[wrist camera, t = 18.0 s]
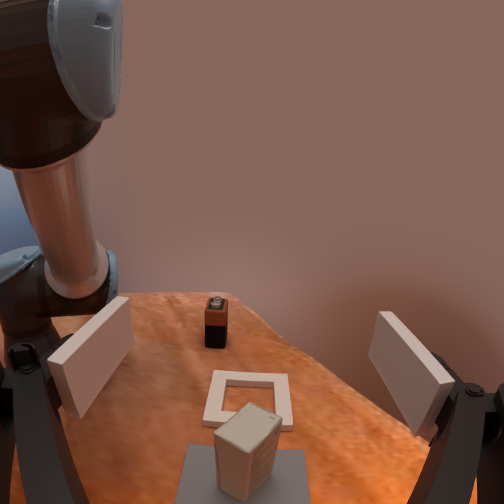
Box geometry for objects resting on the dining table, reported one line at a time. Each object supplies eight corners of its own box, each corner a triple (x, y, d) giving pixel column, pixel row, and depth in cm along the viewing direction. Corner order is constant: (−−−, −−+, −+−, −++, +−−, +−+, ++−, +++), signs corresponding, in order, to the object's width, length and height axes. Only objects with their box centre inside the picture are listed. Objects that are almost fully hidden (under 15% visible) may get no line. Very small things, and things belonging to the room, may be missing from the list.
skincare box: (245, 460, 32) (249, 399, 29) (273, 475, 30) (285, 415, 27) (215, 487, 27) (211, 430, 24) (244, 505, 25) (249, 452, 22)
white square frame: (203, 426, 39) (202, 419, 38) (214, 376, 52) (214, 369, 51) (291, 431, 38) (293, 424, 38) (286, 380, 51) (287, 373, 51)
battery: (204, 347, 61) (204, 306, 59) (208, 332, 68) (208, 293, 65) (225, 349, 61) (225, 307, 59) (227, 333, 68) (228, 294, 65)
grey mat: (173, 511, 23) (172, 510, 23) (189, 445, 34) (189, 443, 34) (311, 519, 23) (312, 518, 22) (303, 451, 34) (303, 449, 34)
